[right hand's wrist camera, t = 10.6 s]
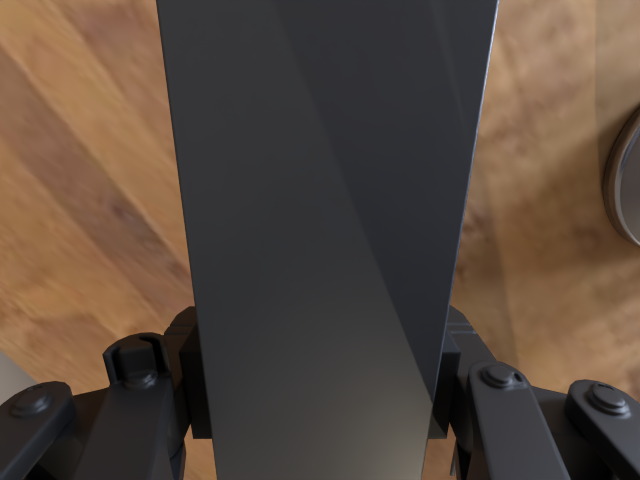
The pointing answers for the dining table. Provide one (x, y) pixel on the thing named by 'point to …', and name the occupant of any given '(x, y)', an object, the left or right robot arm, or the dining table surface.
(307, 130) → the beam
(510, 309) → the dining table surface
